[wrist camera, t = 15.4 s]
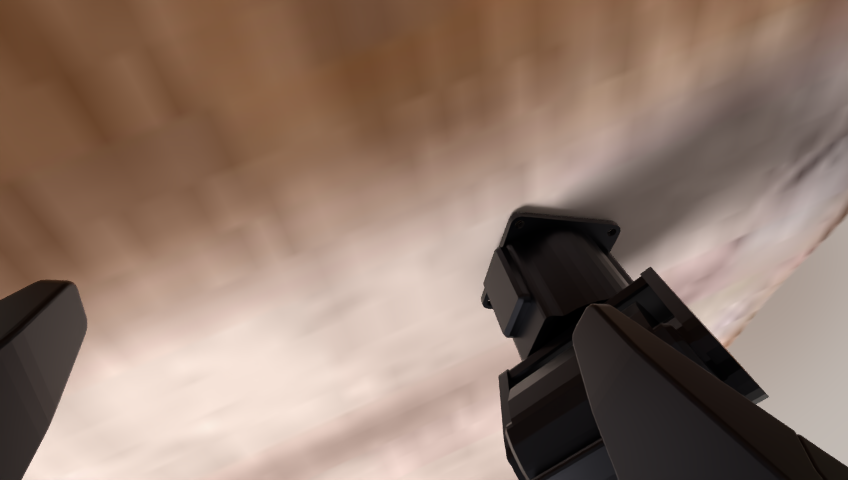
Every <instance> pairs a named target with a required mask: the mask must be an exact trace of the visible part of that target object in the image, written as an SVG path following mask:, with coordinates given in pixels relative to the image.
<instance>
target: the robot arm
mask: <svg viewBox="0 0 848 480" xmlns="http://www.w3.org/2000/svg"><path fill="white" fill-rule="evenodd" d="M520 220H522V221H521V223H519V224H516V222H517V221H520ZM611 229H612V230H611ZM609 230H611V231H610V232H608V231H609ZM619 233H620V227H619V226H618V225H617V224H616V223H615V222H613V221H606V220H595V219H585V218H574V217H564V216H554V215H543V214H533V213H522V212H518V213H515V214H513V215H512V216H510V218H509V220H508V223H507V226H506V228H505V231H504V234H503V237H502V240H501V243H500V246H499V247H498V248H497V249H496V250H495V251H494V254H493V257H492V260H491V263H490V266H489V269H488V272H487V275H486V277H485V280H484V287H485V288H484V291H483V294H482V297H481V301H482V304H483V306H484V307H485V308H488V309H493V310H494V312H495V315H496V317H497V320H498V322H499V325H500V327H501V330H502V332H503V334H504V335H505V336H506V337H507V338H513V340H514V343H515V345H516V348H517V350H518V352H519V355H520V357H521V360H522V362H520V363H519V364H518V365H516V366H515V367H513V368H512V369H511V370H508V369H507V370H506V371H504V372H503V373H502V374H500V375H499V388H500V399H501V411H502V423H503V435H504V443H505V449H506V456H507V460H508V462H509V463H510V465H511V466H512V468H513V470H514V472H515V474H516V476H517V477H518V479H519V480H848V467H847V466H846V465H844V464H842V463H841V462H840V461H838V460H837V459H835V458H834V457H832V456H830V455H829V454H828V453H826V452H825V451H823V450H821V449H820V448H818V447H817V446H816V445H814V444H813V443H811V442H810V441H808V440H807V439H805V438H804V437H803V436H801V435H799V434H796V433H795V431H794V430H792V429H791V428H789V427H788V426H787V425H785V424H784V423H782V422H781V421H779V420H777V419H776V418H775V417H773V416H772V415H770V414H769V413H767V412H766V411H765V410H763V409H762V408H760V407H759V406H757V405H756V404H757V403H759V402H761V401H763V400H764V399H766V398H768V397H769V396H768V395H767V394H766V393H765V392H764V391H763V390H762V388H761V387H760V386H759V385H758V384H757V383H756V382H755V381H754V379H753V378H752V377H751V376H750V375H749V374H748V373H747V372H746V371H745V369H744V368H743V367H742V366H741V365H740V364H739V363H738V362H737V361H736V359H735V358H734V357H733V356H732V355H731V354H730V353H729V352H728V350H727V349H726V348H725V347H724V346H723V345H722V344H721V343H720V342H719V341H718V340H717V338H716V337H715V336H714V335H713V334H712V333H711V332H710V331H709V330H708V329H707V327H706V326H705V325H704V324H703V323H702V322H701V321H700V320H699V319H698V318H697V317H696V315H695V314H694V313H693V312H692V311H691V310H690V309H689V308H688V307H687V306H686V305H685V303H684V302H683V301H682V300H681V299H680V298H679V297H678V296H677V295H676V294H675V293H674V292H673V290H672V289H671V288H670V287H669V286H668V285H667V284H666V283H665V282H664V281H663V280H662V279H661V277H660V276H659V275H658V274H657V273H656V272H655V271H654V270H653V269H652V268H651V267H649V268H648V269H647V270H645V271H644V272H642V273H641V274H640V275H641V277H639V278H638V279H637V280H635V281H633V280H632V279H631V277H630V276H629V275H628V274H627V273H626V271H625V270H624V269H623V268H622V267H621V265H620V264H619V263H618V262H617V260H616V259H615V258H614V257H613V256H612V254H611V253H610V251H611V249H612V247H613V245H614V243H615V241H616V239H617V237H618V235H619ZM488 300H490V301H488ZM86 330H87V317H86V314H85V311H84V307H83V304H82V301H81V298H80V295H79V291H78V289H77V286H76V285H75V284H74V283H73V282H71V281H64V280H40V281H37V282H35V283H33V284H31V285H29V286H27V287H25V288H23V289H21V290H19V291H17V292H15V293H13V294H11V295H9V296H7V297H6V298H4V299H2V300H0V480H22V478H23V476H24V474H25V472H26V470H27V468H28V466H29V465H30V463H31V461H32V459H33V457H34V455H35V453H36V451H37V449H38V447H39V446H40V444H41V442H42V440H43V438H44V436H45V434H46V432H47V430H48V428H49V426H50V424H51V421H52V419H53V416H54V414H55V412H56V409H57V407H58V404H59V402H60V399H61V396H62V394H63V391H64V389H65V386H66V383H67V381H68V378H69V376H70V373H71V371H72V368H73V365H74V363H75V360H76V358H77V355H78V352H79V350H80V347H81V345H82V342H83V339H84V337H85V334H86Z"/></svg>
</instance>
